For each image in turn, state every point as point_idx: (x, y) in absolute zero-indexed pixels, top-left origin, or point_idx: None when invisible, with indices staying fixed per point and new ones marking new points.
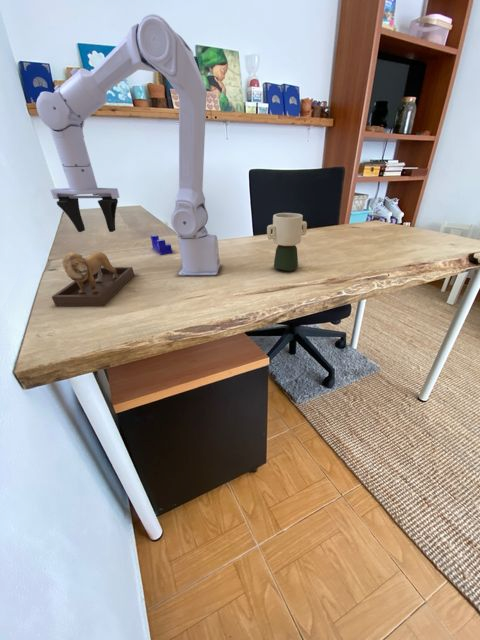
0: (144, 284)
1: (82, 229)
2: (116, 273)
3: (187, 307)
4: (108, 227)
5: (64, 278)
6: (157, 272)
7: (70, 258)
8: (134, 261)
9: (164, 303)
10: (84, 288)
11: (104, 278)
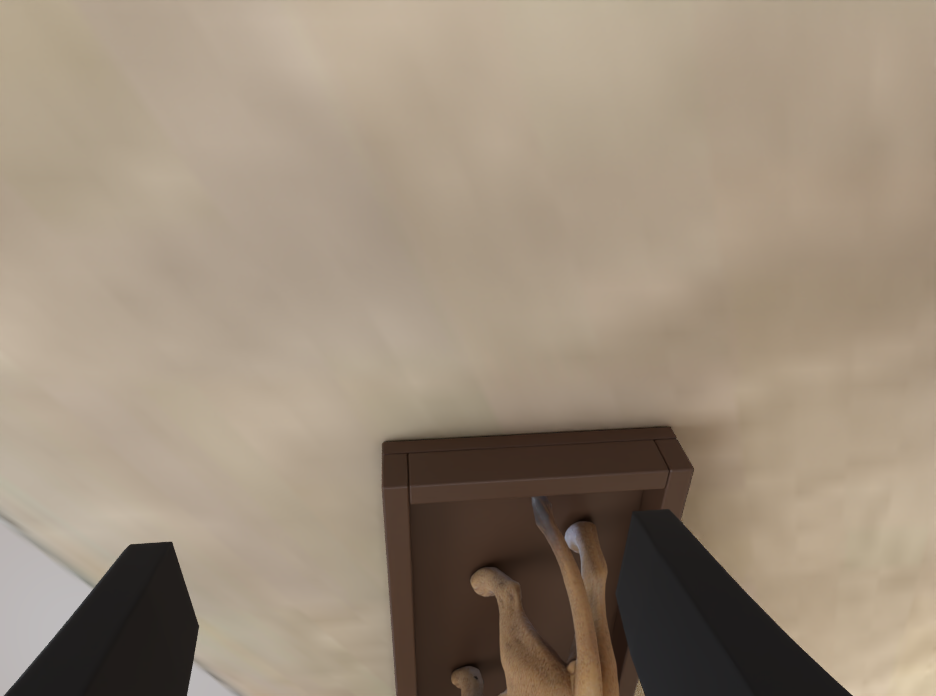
0: (753, 540)
1: (181, 609)
2: (598, 548)
3: (931, 690)
4: (643, 658)
5: (169, 496)
6: (833, 366)
7: None
8: (589, 65)
9: (848, 678)
10: (482, 686)
11: (500, 530)
